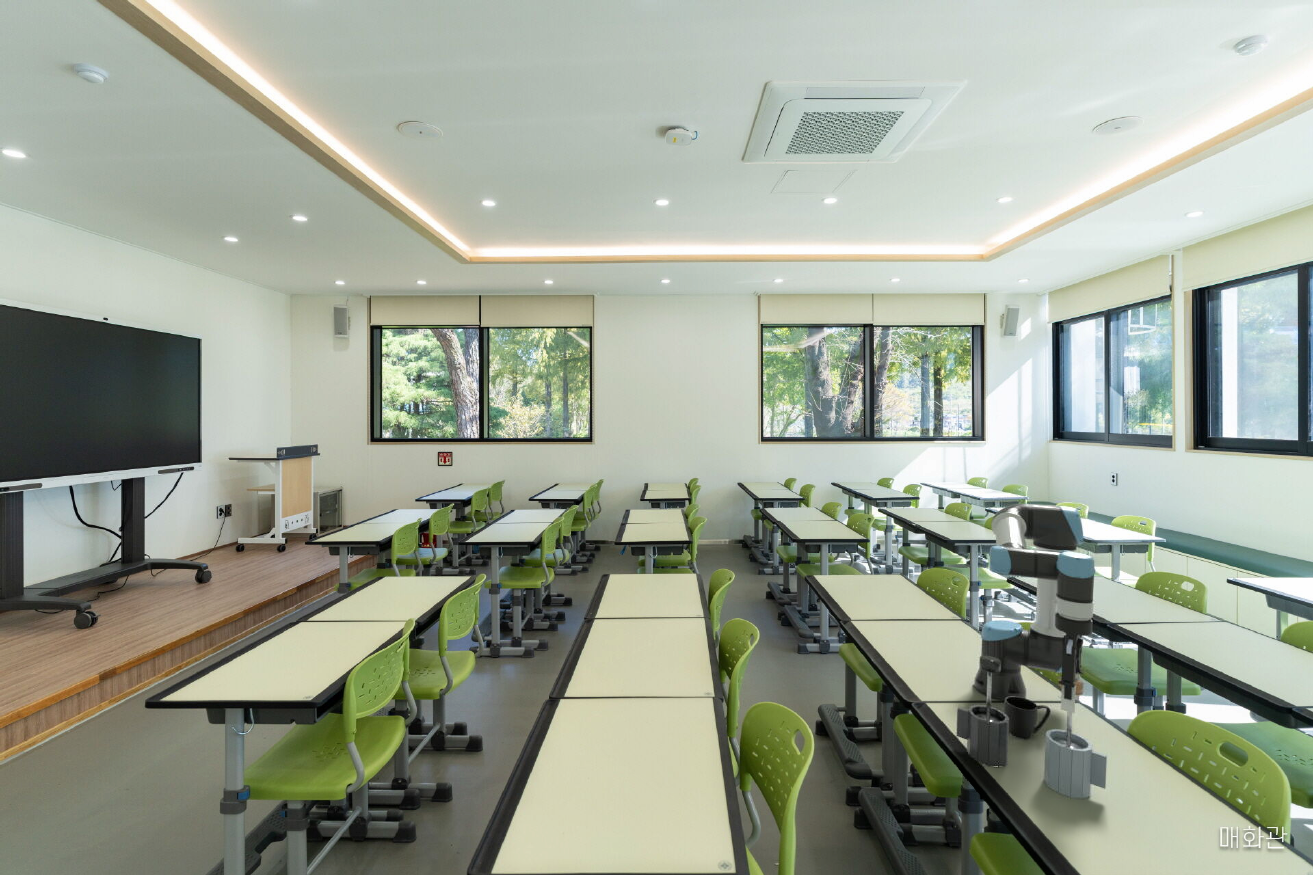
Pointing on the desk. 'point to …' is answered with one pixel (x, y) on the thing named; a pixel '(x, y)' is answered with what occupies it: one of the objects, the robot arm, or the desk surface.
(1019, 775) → the desk surface
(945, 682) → the desk surface
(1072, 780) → the cup
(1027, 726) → the mug
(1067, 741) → the stone press plunger
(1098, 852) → the desk surface
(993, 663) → the black press plunger
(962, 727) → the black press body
